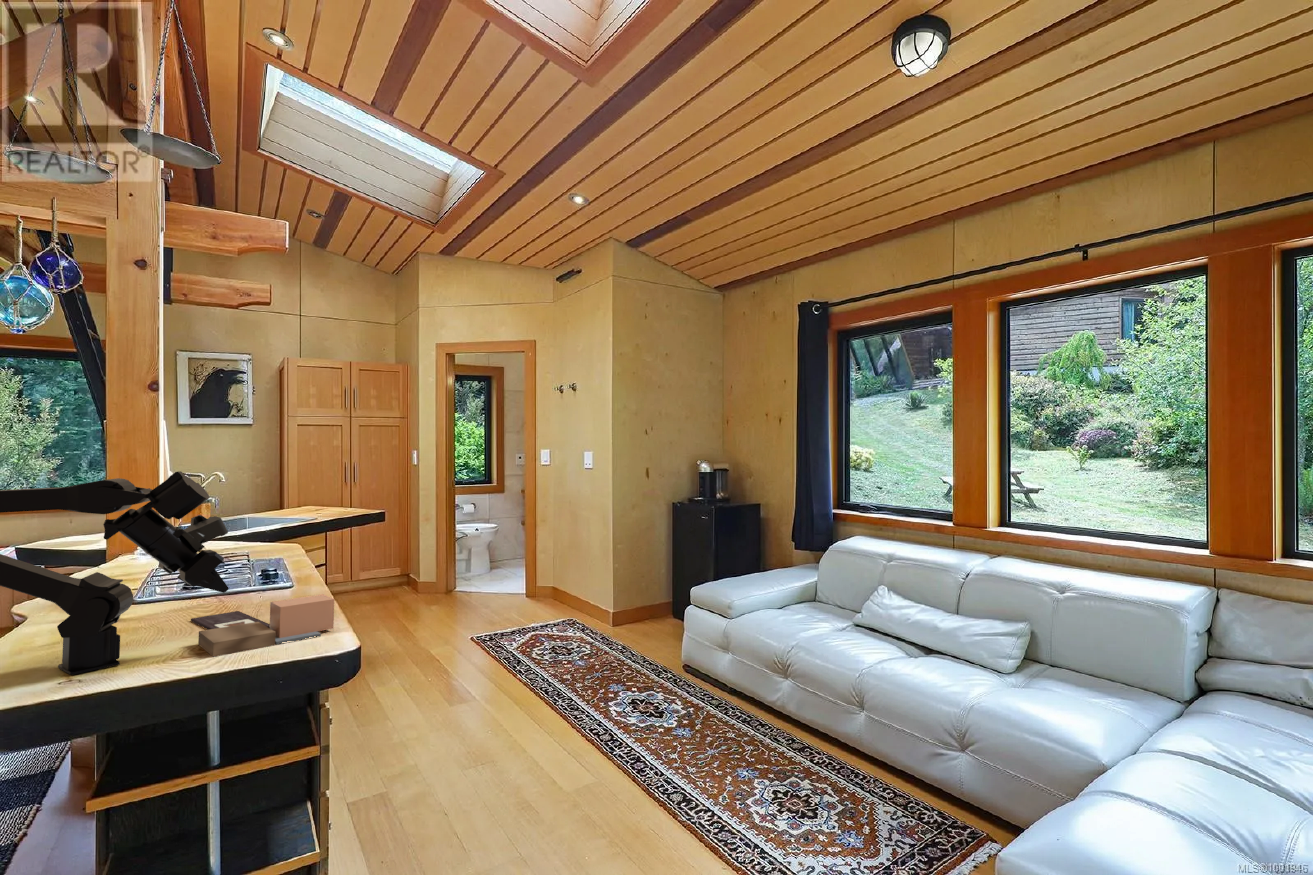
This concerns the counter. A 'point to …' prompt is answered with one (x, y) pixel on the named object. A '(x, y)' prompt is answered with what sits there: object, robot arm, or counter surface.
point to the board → (236, 638)
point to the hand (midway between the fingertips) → (226, 590)
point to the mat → (296, 637)
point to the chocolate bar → (226, 620)
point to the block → (301, 615)
